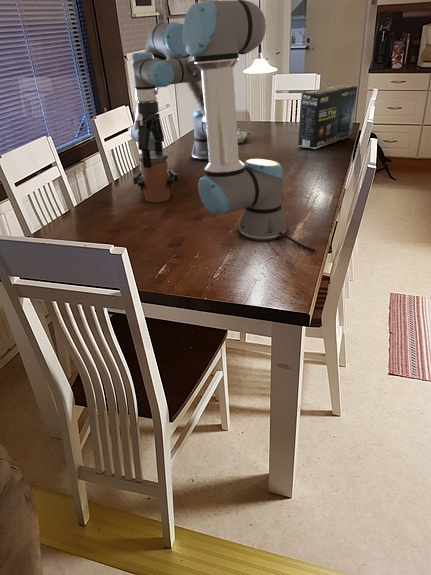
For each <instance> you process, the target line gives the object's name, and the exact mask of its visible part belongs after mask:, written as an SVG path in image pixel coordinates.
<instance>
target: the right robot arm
mask: <svg viewBox="0 0 431 575" xmlns="http://www.w3.org/2000/svg"><path fill="white" fill-rule="evenodd" d="M182 24H183V42H184V46H185V47H186V51H187V52H188V54H190V56H188V57H187V58H181V59H170V60H168V59H167V60H159V61H155V60H154V56H153V54H152V53H151V52H145V51H143V52H142V51H141V52H133V54H131V68H132V75H133V83H134V90H135V100H136V102H137V103H136V110H137V109H138V113H139V114H141V115H142V120H138V126H139V135H138V142H137V149H138V150H139V151H141V153H142V156H143V164H144V168H151V159H150V150H149V149H148V146H149V138H150V132H151V131H152V134H153V136H154V139H155V141H156V142H154V144H155V151H162V148H163V142H164V141H165V135H164V132H163V127H162V123H161V116H160V113H159V112H160V109H159V102H158V94H159V90H158V91H157V88H156V86H157V87H159V88H165V87H168V86H170V85H178V84H186V82H198V81H202V87H203V99H204V110H205V122H206V133H207V144H208V156H209V161H208V163H207V164H206V165H205V166H204V168H203V170H204V176H202V177H201V178H200V179H199V180H198V183H197V191H198V195H199V198H200V201H201V203H202V204H203V206H204V207H205V209H206V210H207V211H208V212H209V213H211V214H212V215H215V216H219V215H224V214H230V213H232V212H236V211H240V210H243V209H244V211H243V213H242V216H241V218H240V219H241V220H240V221H239V226H238V232H239V235H240V236H241V237H242V238H244V239H247V240H250V241H254V242H271V241H277V240H279V239H281V238H283V237H284V238H286V239H288V240H289V241H291V242H292V243H293V244H296V245H297V246H299V247H300V248H304V249H305V250H309V251H311V252H315V251H316V249H315V248H313V247H310V246H308V245H305V244H303V243H300V242H298V241H297V240H296V239H294V238H292V237H291V236H289V235H287V223H286V221H285V216H284V214H283V210H282V200H283V183H284V174H283V173H284V172H283V171H284V169H283V166H282V164H280V162H278V161H274V160H270V159H265V158H250V159H246V160H245V161H244V162H243V161H241V160H240V154H239V144H238V137H237V126H238V121H237V120H238V119H237V105H236V90H235V89H236V87H235V86H236V85H235V72H234V71H235V70H234V67H235V65H236V64H237V62H239V59H240V58H239V57H240V56H239V55H247V54H249V53H250V52H252V51H253V50H255V49H256V48H258V47H259V46H260V45H261V44H262V42H263V41H264V39H265V36H266V32H267V20H266V17H265V14H264V13H263V11H262V9H261V8H260V7H259V6H258V5H257V4H256V3H254V2H252V1H249V0H206V1H199V2H195V3H193V4H192V5H191V6H190V7H189V8H188V10H187V11H186V15H185V16H184V20H183V23H182ZM160 134H161V135H160ZM161 141H162V142H161Z"/></svg>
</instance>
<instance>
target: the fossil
mask: <svg viewBox="0 0 431 575" xmlns="http://www.w3.org/2000/svg"><path fill="white" fill-rule="evenodd" d="M248 135H250V136H251V132H250V130H248V129H245V128H243V129H242V128H240V126H238V127H237V137H238V141H243V142H245V141H246V140H247V138H248V137H247V136H248ZM245 139H246V140H245ZM244 140H245V141H244ZM239 144H240V145H241V144H242V142H238V145H239Z"/></svg>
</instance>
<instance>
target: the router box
mask: <svg viewBox="0 0 431 575" xmlns="http://www.w3.org/2000/svg"><path fill="white" fill-rule="evenodd" d="M357 93H358V86H356V85H350V84H339V85H338V84H337V85H334V86H328V87H324V88H318V89H314V90H309V91H304V92H301V93H300V109H299V110H300V111H299V124H298V137H297V146H298V145H302V146H307V147H317V146H320V145H323V144H325V143H328V142H331V141H333V140H336V139H338V138H341V137H344V136H347V135H351V136H352V133H353V132H352V131H353V125H354V115H355V109H356V99H357ZM311 151H313V150H312V149H311Z"/></svg>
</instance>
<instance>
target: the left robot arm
mask: <svg viewBox="0 0 431 575" xmlns="http://www.w3.org/2000/svg"><path fill="white" fill-rule="evenodd" d="M183 24H184V23H180V22H176V21H175V22H160V23H157V24H155V25H154V26H153V27H152V28H151V30H150V31H149V34H148V37H147V40H146V44H145V49H144V52H151V53H152V54H153V56H154V60H155V61H159V60H170V59H181V58H187V57H188V56H190V54H188V52H187V51H186V47H185V46H184V42H183ZM185 85H186V87H187V89H188V91H189V92H190V94H191V96H192V98H193V99H194V101H195V104H196V105H197V107H198V108H197V109H195V110H193V112H192V122H193V136H194V137H193V138H194V142H193V147H192V151H191V158H192V159H193V160H195V161H199V162H209V156H208V144H207V133H206V122H205V110H204V99H203V87H202V81H198V82H186V83H185ZM156 88H157V91H158V92H159V88H160V87H157V86H156ZM138 120H142V115H141V114H139V113H138V109H137V108H136V112H135V118H134V124H132V125H130V128H129V130H128V133H129V137H130V138H131V140H133V141H134V142H136V143H138V135H139V126H138ZM237 127H239V126H238V125H237ZM160 135H161V134H160ZM154 142H156V141H155V139H154V136H153V134H152V131H151V132H150V138H149V146H148V149H149V150H150V151H155V144H154ZM161 142H162V143H163V141H161ZM162 152H164V149H163V147H162ZM168 179H169V189H172V184H174V183H175V182H179V176H178V174H177V173H176V172H175V171H174V170H173V168H169V169H168ZM132 180H133V181H132V182H133V185H137V186H138V187H140V191H144V189H143V181H142V173H141V170H138V173H136V174H135V175H134V176H133V178H132Z"/></svg>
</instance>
